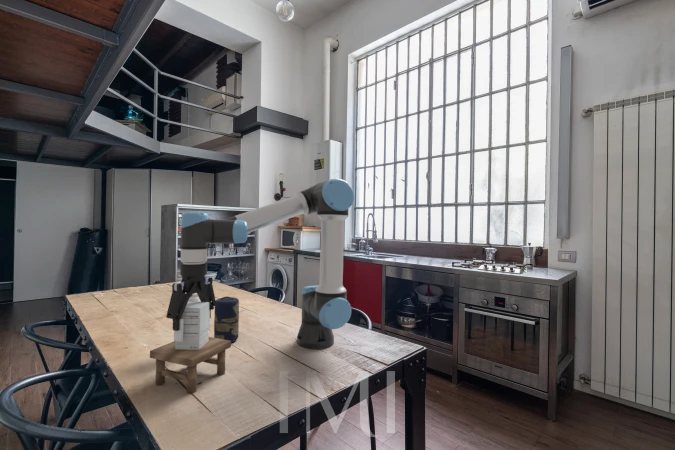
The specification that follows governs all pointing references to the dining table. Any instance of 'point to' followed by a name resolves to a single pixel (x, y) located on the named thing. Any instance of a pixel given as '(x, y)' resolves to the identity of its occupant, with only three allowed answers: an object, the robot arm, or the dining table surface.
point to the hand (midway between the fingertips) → (192, 335)
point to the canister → (226, 319)
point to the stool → (189, 360)
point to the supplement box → (194, 326)
